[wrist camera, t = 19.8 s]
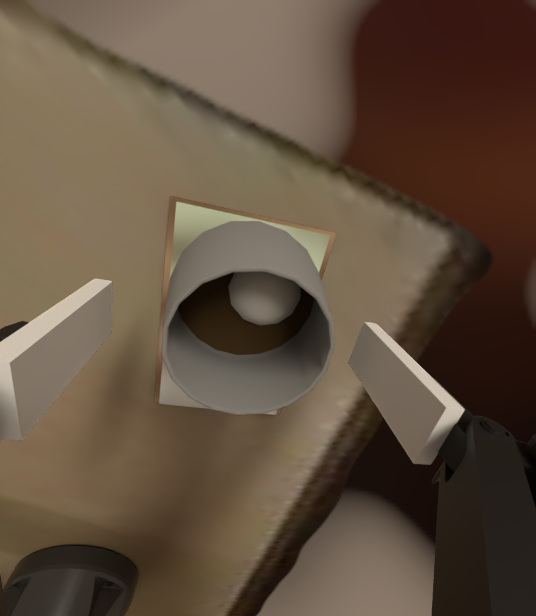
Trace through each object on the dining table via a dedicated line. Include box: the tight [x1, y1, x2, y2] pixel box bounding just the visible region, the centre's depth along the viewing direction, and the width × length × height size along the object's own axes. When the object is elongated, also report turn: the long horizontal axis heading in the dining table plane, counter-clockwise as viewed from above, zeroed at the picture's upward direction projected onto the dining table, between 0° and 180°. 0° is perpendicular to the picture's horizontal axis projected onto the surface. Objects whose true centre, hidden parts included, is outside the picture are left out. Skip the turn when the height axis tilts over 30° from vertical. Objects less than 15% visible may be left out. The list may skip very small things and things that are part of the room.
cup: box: [161, 221, 335, 415], centre depth 17 cm, size 10×9×10 cm
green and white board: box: [154, 196, 336, 415], centre depth 23 cm, size 18×12×1 cm, turn 167°
